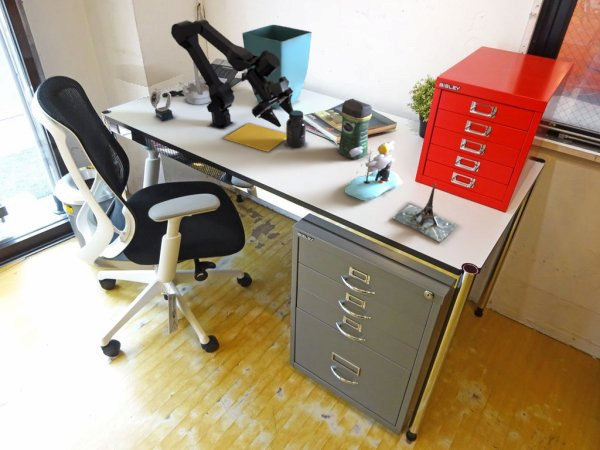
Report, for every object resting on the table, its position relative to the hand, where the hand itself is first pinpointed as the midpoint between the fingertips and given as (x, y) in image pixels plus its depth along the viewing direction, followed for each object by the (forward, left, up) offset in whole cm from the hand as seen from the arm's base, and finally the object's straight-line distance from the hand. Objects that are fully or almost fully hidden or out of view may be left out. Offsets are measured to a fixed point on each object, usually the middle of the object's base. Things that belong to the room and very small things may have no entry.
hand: (287, 121), depth 154 cm
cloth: (-11, -3, -8) cm, 14 cm away
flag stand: (-53, +14, -8) cm, 56 cm away
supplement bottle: (+3, 0, -8) cm, 9 cm away
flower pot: (-23, +30, -8) cm, 39 cm away
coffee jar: (+24, +5, -8) cm, 25 cm away
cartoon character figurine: (+39, -12, -8) cm, 41 cm away
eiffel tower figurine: (+58, -21, -8) cm, 62 cm away
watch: (-52, -8, -8) cm, 54 cm away
